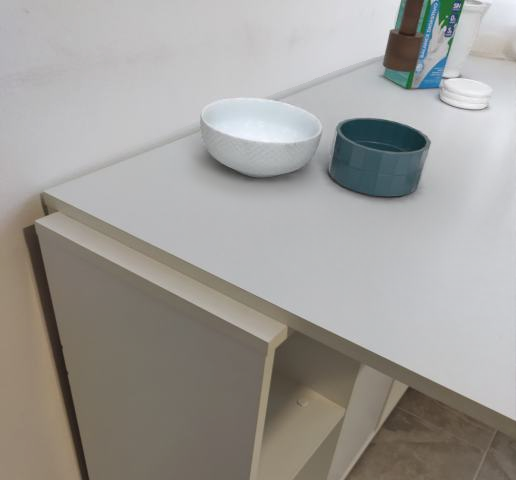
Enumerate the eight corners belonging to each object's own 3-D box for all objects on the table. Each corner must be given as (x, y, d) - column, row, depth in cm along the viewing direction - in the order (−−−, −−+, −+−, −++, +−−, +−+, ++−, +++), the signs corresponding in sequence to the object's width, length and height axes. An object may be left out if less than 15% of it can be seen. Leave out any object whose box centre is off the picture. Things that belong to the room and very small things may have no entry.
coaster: (432, 101, 111) (437, 83, 109) (447, 91, 118) (452, 74, 115) (479, 114, 108) (486, 95, 105) (492, 103, 114) (498, 85, 112)
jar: (461, 83, 124) (485, 8, 114) (417, 74, 126) (437, -1, 116) (465, 72, 132) (488, 1, 122) (423, 64, 134) (442, -7, 124)
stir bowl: (421, 172, 83) (434, 129, 78) (411, 207, 73) (425, 161, 69) (338, 153, 85) (346, 111, 81) (318, 185, 75) (326, 140, 71)
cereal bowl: (204, 191, 71) (205, 138, 66) (195, 142, 83) (196, 94, 78) (327, 193, 74) (336, 142, 69) (301, 146, 86) (308, 99, 81)
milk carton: (406, 89, 116) (443, -54, 99) (383, 76, 122) (414, -60, 105) (439, 87, 119) (480, -51, 103) (414, 75, 125) (450, -58, 109)
